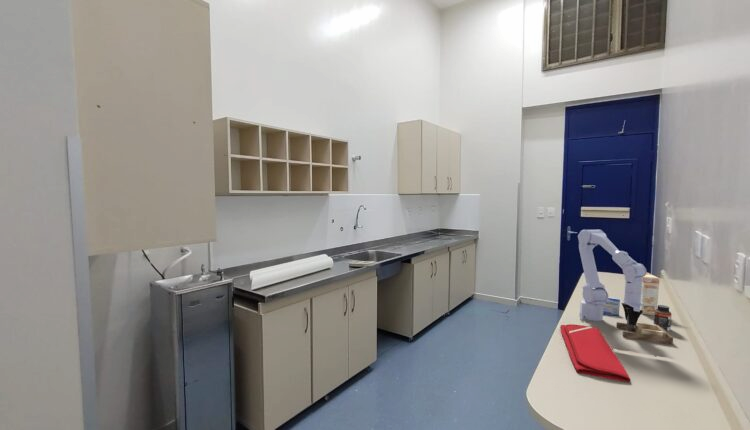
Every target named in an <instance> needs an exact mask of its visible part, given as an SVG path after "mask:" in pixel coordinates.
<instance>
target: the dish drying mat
mask: <svg viewBox="0 0 750 430" xmlns="http://www.w3.org/2000/svg"><path fill="white" fill-rule="evenodd" d="M559 326H560V333H561V336H562V339H563V341H564V344H565V347H566V350H567V352H568V355H569V358H570V360H571V362H572V364H573V366H574V369H575V371H576V372H577V374H582V375H588V376H594V377H600V378H604V379H609V380H614V381H620V382H623V383H630V382H631V381H632V380H631V378H630V376H629V374H628V373H627V370H626V369H625V367H624V366H623V363H622V362H621V361H620V360H619V358H618V357H617V355H616V353H615V352H614V351H613V349H612V348H611V346H610V345H609V343H608V341H607V340H606V338H605V337H604V336H603V334H602V332H601V331H600V329H599V328H597V327H593V326H588V325H580V324H570V323H569V324H561V325H559Z"/></svg>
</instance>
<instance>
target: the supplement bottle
mask: <svg viewBox="0 0 750 430" xmlns="http://www.w3.org/2000/svg"><path fill="white" fill-rule="evenodd" d="M672 315H673V314H672V311H670V306H668V305H663V304H657V309H656V310H655V311H654V315H653V324H654V325H658V326H659V327H662V328H664V329H665V330H666V331H667V332H669V331H671V326H672Z"/></svg>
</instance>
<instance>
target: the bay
mask: <svg viewBox="0 0 750 430" xmlns="http://www.w3.org/2000/svg"><path fill="white" fill-rule="evenodd" d="M615 324H616V326H615V327H616V328H617V329H623V330H622V337H623V338H628V339H633V340H640V341H647V342H651V343H653V342H654V343H657V344H658V343H659V344H665V345H672V346H673V345H674V337H673V336H672V335H671V334H670V333H669V331H666V330H665V329H664V328H662V327H661V328H662V329H663V330H664V331H665V332H666V337H661V336H654V335H648V334H641V333H635V332H628V331H626V328H627V322H619V321H617V322H616V323H615Z"/></svg>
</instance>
